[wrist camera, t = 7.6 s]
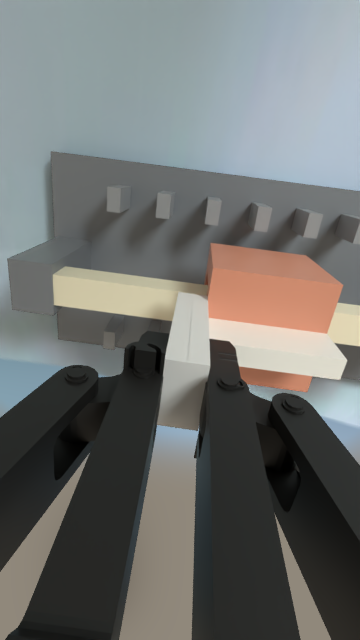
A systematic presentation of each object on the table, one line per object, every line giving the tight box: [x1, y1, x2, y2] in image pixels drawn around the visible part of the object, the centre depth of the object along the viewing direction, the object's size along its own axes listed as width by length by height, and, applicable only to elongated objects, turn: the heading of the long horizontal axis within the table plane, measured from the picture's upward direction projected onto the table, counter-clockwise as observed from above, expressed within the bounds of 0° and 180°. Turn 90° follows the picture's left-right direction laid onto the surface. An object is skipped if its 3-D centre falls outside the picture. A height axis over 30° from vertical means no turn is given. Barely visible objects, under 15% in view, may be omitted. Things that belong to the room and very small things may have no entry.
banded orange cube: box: [204, 243, 347, 392], centre depth 18 cm, size 6×6×8 cm
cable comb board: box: [7, 152, 360, 380], centre depth 22 cm, size 28×14×8 cm, turn 83°
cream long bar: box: [53, 266, 360, 346], centre depth 19 cm, size 27×4×4 cm, turn 83°
